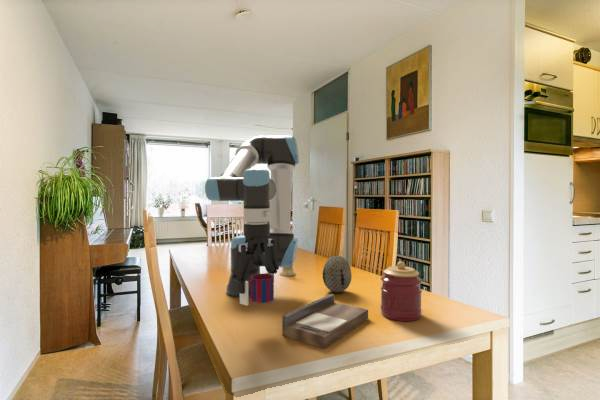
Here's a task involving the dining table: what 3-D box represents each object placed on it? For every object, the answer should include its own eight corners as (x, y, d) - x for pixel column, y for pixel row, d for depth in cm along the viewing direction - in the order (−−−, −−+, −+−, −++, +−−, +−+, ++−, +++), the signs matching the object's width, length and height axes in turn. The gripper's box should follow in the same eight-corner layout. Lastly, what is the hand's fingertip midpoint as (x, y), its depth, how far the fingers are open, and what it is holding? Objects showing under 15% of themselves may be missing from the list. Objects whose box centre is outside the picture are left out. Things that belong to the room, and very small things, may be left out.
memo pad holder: (282, 335, 95) (282, 315, 95) (330, 309, 116) (330, 293, 116) (324, 348, 87) (324, 327, 87) (368, 318, 108) (368, 301, 108)
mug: (277, 301, 98) (277, 277, 98) (244, 306, 93) (243, 282, 93) (268, 294, 104) (268, 272, 104) (236, 299, 99) (236, 276, 99)
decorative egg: (356, 294, 133) (356, 257, 133) (328, 297, 130) (328, 258, 130) (344, 287, 145) (344, 252, 144) (318, 289, 141) (318, 253, 141)
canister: (398, 324, 103) (398, 267, 103) (372, 311, 115) (372, 259, 115) (430, 318, 108) (431, 263, 108) (403, 306, 120) (403, 256, 120)
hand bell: (276, 273, 170) (276, 241, 170) (292, 271, 173) (292, 240, 173) (283, 277, 162) (283, 243, 162) (298, 275, 166) (298, 242, 166)
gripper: (237, 227, 86) (237, 313, 87) (290, 220, 104) (290, 292, 105) (217, 225, 91) (218, 307, 92) (272, 219, 109) (272, 287, 110)
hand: (257, 299), depth 98 cm, fingers closed on mug, 10 cm apart
